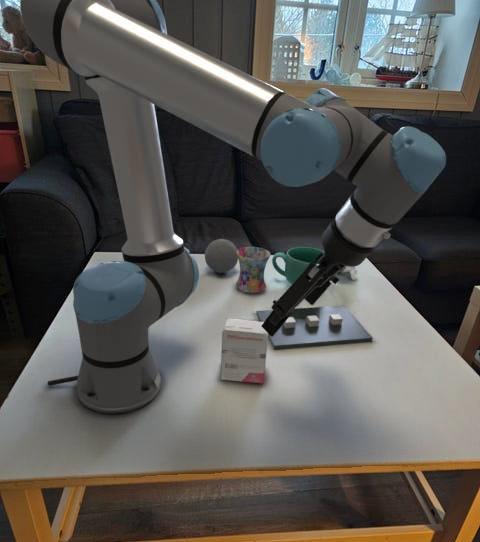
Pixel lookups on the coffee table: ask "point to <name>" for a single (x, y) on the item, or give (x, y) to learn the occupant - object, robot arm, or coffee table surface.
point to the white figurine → (350, 271)
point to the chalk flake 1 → (290, 323)
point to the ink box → (243, 351)
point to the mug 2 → (296, 261)
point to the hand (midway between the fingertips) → (288, 314)
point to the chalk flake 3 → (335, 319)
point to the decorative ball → (221, 256)
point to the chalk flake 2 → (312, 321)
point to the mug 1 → (252, 269)
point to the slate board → (317, 328)
